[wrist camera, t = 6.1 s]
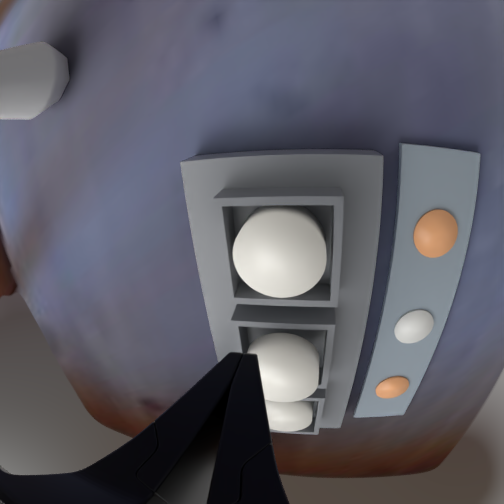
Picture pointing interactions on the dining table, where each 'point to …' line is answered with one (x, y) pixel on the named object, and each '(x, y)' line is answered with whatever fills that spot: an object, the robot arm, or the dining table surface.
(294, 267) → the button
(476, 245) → the dining table surface
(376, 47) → the dining table surface
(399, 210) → the pattern card
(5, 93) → the salt shaker
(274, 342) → the button middle
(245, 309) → the button board
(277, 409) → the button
